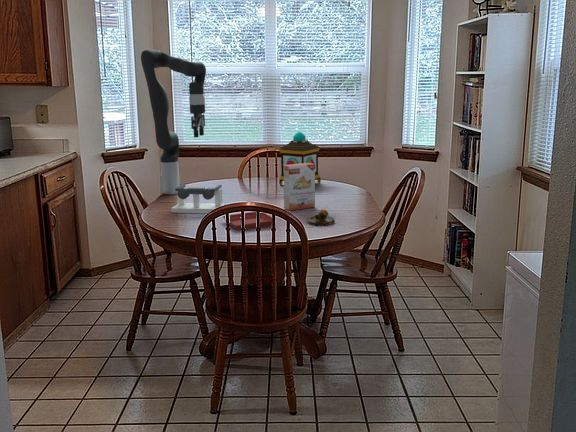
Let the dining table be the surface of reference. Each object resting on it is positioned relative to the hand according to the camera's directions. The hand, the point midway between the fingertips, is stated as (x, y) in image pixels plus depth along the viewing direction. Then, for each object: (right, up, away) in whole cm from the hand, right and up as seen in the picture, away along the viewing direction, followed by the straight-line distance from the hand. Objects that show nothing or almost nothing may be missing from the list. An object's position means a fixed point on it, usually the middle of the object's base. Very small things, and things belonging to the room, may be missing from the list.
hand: (199, 136), depth 295 cm
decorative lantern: (+51, -22, +42) cm, 70 cm away
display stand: (+2, -37, -17) cm, 41 cm away
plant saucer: (+28, -44, -44) cm, 68 cm away
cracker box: (+50, -36, -17) cm, 64 cm away
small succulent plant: (+59, -43, -44) cm, 85 cm away
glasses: (+3, -31, -17) cm, 35 cm away
